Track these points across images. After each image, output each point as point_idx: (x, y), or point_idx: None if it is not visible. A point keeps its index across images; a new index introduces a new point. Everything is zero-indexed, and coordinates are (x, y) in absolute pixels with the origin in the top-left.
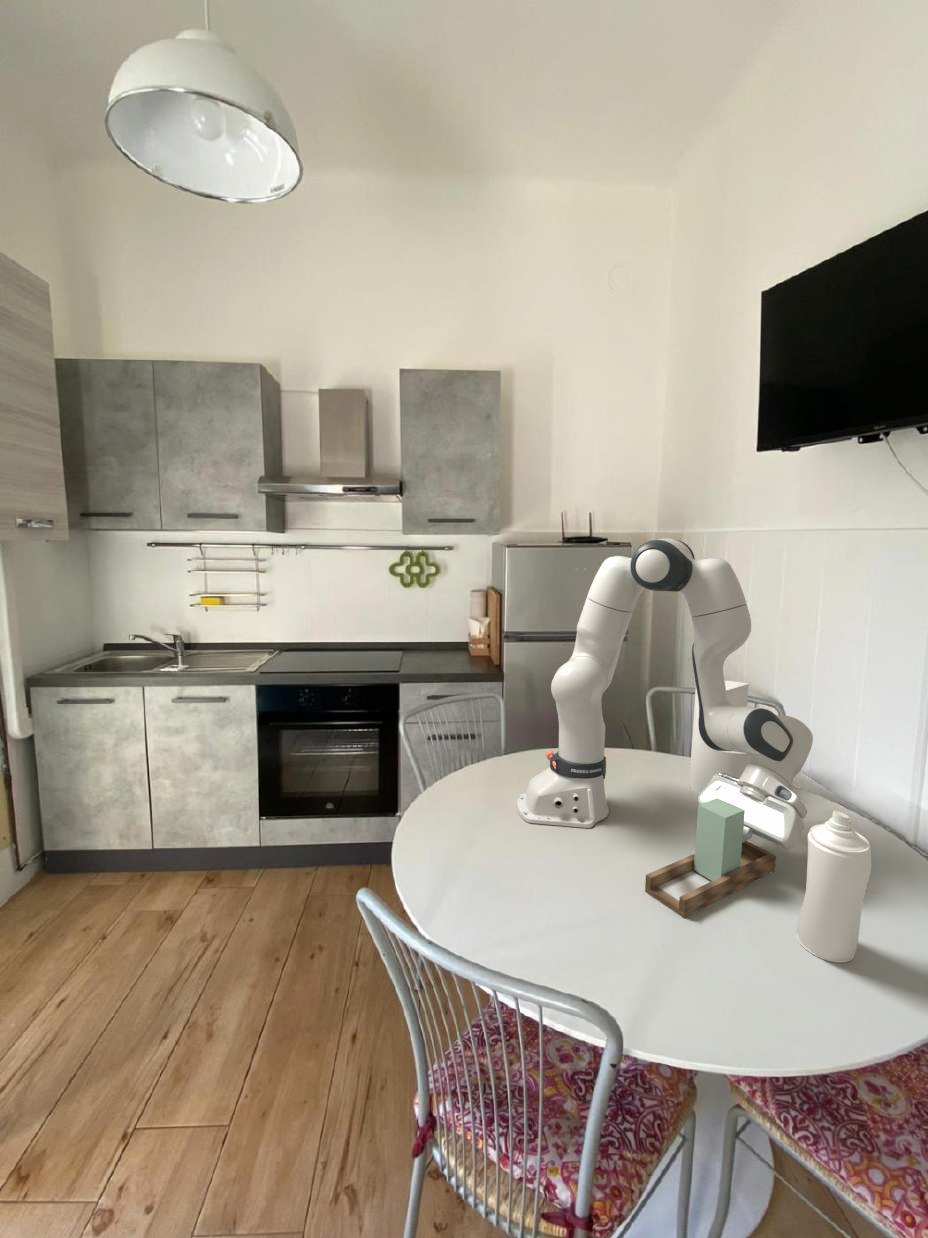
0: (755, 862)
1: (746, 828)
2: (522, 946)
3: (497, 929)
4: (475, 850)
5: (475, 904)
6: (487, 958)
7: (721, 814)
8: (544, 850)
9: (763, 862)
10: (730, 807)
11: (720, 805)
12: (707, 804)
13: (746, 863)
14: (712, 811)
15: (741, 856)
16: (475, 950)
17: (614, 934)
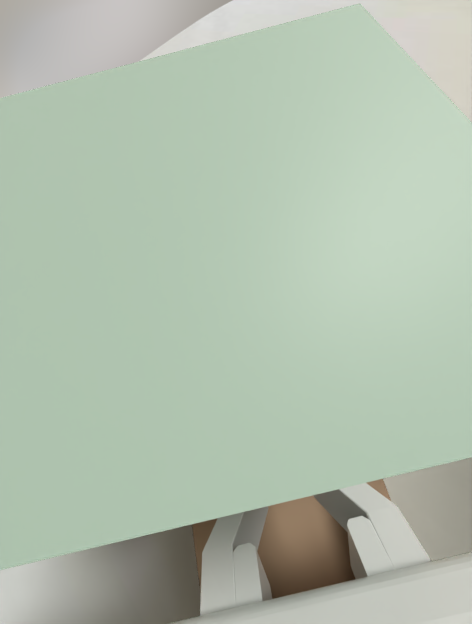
0: (207, 527)
1: (224, 596)
2: (207, 39)
3: (245, 24)
4: (449, 14)
5: (300, 11)
6: (204, 16)
7: (63, 96)
8: (444, 90)
9: (198, 573)
10: (140, 332)
11: (275, 210)
12: (354, 74)
13: (281, 539)
14: (167, 55)
15: (330, 566)
16: (220, 9)
17: None
